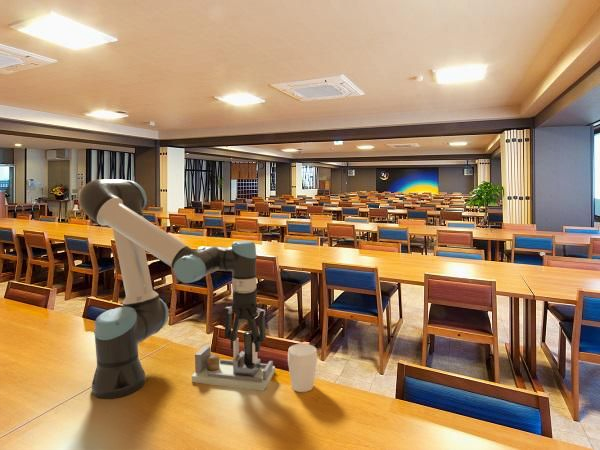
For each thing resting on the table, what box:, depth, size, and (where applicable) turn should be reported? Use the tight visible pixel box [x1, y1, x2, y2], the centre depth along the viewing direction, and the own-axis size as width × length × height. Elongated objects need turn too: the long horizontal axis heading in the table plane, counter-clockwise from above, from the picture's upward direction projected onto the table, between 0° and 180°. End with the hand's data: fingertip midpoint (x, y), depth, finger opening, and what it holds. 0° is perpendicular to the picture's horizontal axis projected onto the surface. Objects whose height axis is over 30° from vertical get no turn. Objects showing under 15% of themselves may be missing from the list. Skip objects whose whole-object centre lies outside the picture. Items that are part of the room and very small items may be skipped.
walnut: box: [207, 353, 220, 371], centre depth 125 cm, size 4×4×4 cm
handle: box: [233, 330, 261, 377], centre depth 121 cm, size 7×7×13 cm
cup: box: [287, 343, 318, 393], centre depth 117 cm, size 9×9×12 cm
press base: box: [191, 344, 276, 392], centre depth 123 cm, size 24×12×8 cm, turn 77°
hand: (245, 359), depth 122 cm, fingers closed on handle, 6 cm apart
